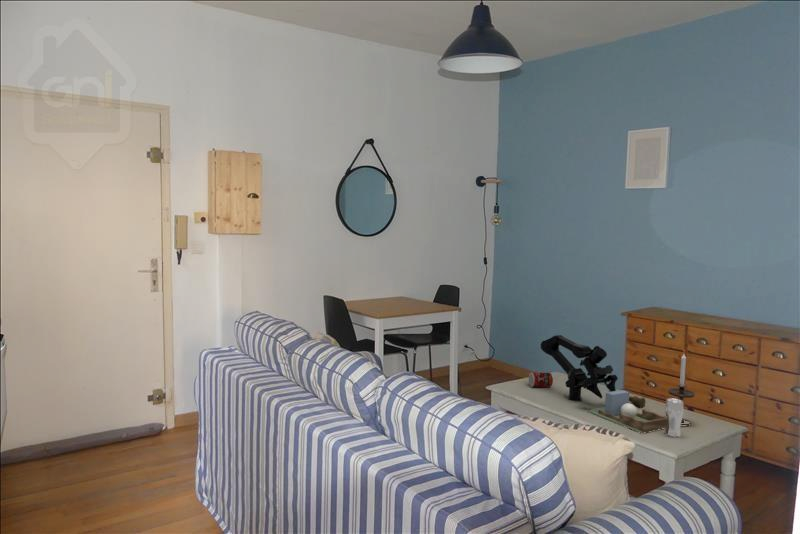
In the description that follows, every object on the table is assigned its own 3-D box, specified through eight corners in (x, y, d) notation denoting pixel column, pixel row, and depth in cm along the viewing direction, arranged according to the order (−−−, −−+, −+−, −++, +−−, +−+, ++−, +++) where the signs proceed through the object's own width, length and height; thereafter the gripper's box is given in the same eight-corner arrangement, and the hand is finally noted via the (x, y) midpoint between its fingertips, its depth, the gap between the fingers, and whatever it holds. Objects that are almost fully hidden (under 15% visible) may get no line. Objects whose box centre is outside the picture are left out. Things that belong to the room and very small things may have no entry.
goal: (587, 411, 280) (587, 402, 279) (615, 406, 289) (616, 397, 288) (641, 433, 252) (642, 423, 252) (671, 427, 261) (672, 417, 260)
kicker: (604, 413, 275) (605, 392, 275) (621, 410, 280) (622, 389, 280) (611, 416, 272) (612, 394, 271) (628, 413, 277) (629, 392, 276)
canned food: (553, 386, 317) (533, 386, 315) (548, 387, 324) (529, 387, 323) (552, 371, 319) (532, 371, 317) (547, 373, 326) (527, 373, 325)
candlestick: (661, 421, 268) (666, 346, 265) (673, 417, 275) (678, 343, 272) (685, 428, 260) (690, 350, 257) (697, 424, 266) (702, 347, 263)
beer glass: (660, 432, 255) (662, 398, 254) (676, 432, 255) (678, 398, 254) (669, 437, 248) (671, 403, 247) (685, 437, 248) (687, 403, 247)
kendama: (637, 410, 286) (601, 398, 302) (648, 407, 291) (613, 396, 308) (638, 398, 285) (602, 387, 302) (649, 396, 291) (614, 385, 307)
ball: (619, 415, 274) (620, 400, 274) (635, 417, 272) (636, 402, 272) (620, 419, 268) (621, 404, 267) (637, 421, 266) (638, 406, 265)
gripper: (587, 361, 279) (604, 390, 270) (616, 358, 288) (633, 386, 279) (574, 373, 287) (590, 402, 278) (602, 370, 295) (619, 397, 287)
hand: (608, 396), depth 280 cm, fingers open, 9 cm apart
